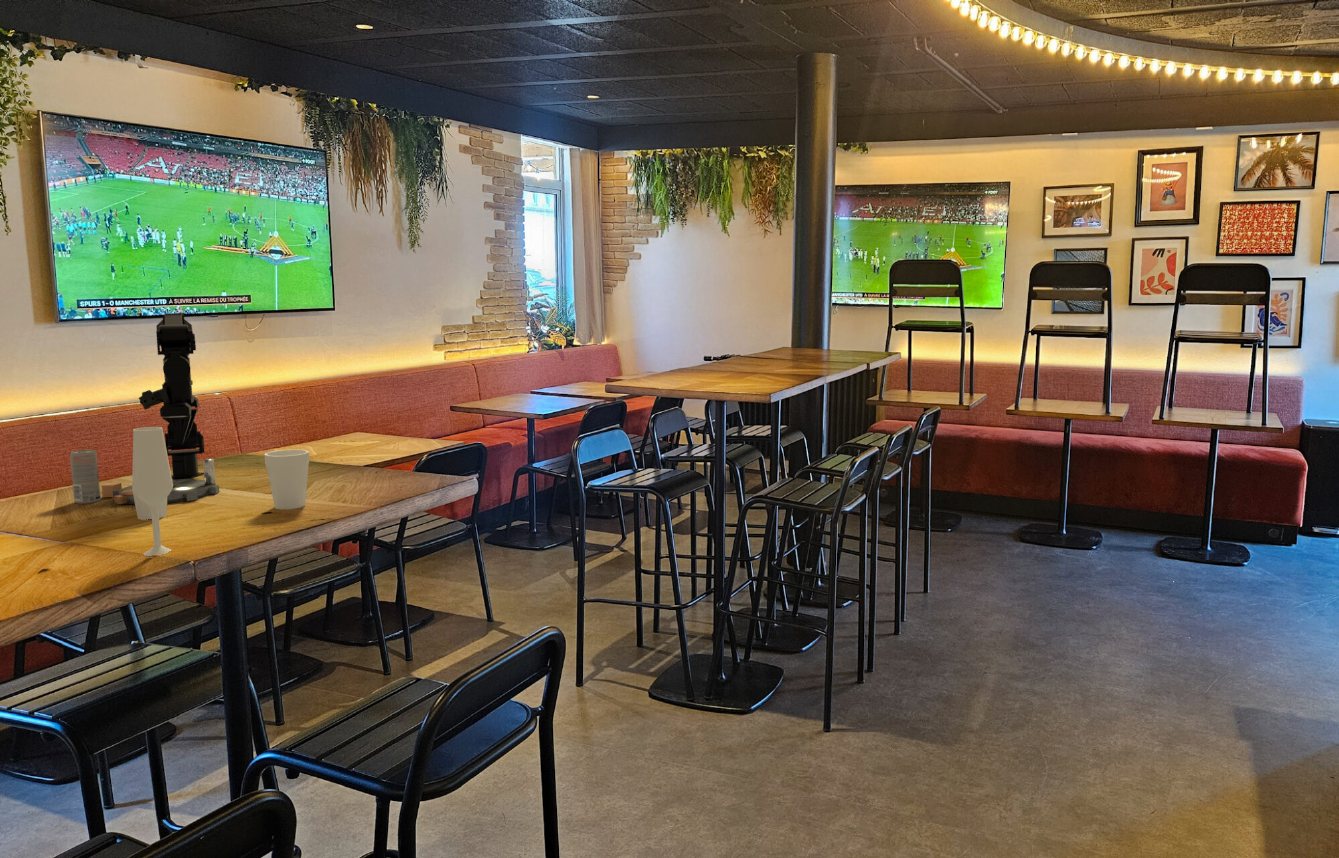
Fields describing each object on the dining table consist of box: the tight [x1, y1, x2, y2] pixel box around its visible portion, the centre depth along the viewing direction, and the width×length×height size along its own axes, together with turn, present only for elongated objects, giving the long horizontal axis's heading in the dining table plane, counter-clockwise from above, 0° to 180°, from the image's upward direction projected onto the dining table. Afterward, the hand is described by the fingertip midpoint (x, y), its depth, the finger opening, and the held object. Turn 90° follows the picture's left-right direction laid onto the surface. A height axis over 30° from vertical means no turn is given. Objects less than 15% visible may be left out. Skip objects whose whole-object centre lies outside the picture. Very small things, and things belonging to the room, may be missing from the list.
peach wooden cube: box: [100, 482, 123, 498], centre depth 234 cm, size 3×3×3 cm
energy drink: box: [69, 449, 102, 505], centre depth 228 cm, size 5×5×12 cm
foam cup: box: [264, 448, 310, 510], centre depth 218 cm, size 10×9×13 cm
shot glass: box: [132, 490, 168, 521], centre depth 211 cm, size 7×7×7 cm
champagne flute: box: [131, 426, 173, 556], centre depth 179 cm, size 7×7×24 cm
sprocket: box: [113, 458, 220, 505], centre depth 232 cm, size 23×23×8 cm
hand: (182, 441), depth 236 cm, fingers open, 9 cm apart
